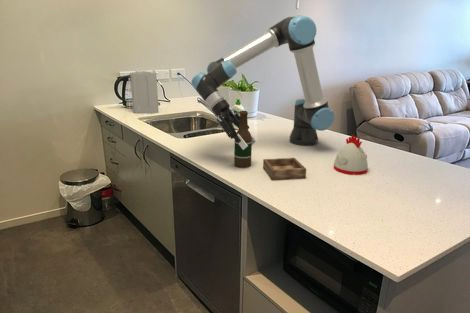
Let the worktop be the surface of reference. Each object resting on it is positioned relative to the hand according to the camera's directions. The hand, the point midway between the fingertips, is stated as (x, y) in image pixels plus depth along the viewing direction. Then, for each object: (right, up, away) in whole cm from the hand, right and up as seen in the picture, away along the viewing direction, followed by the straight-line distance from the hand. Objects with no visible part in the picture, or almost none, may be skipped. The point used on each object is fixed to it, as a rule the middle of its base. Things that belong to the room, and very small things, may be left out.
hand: (250, 145), depth 155 cm
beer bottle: (-3, -9, +5) cm, 10 cm away
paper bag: (-73, +28, +110) cm, 135 cm away
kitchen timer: (+43, -10, +1) cm, 45 cm away
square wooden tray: (+14, -12, -4) cm, 18 cm away
